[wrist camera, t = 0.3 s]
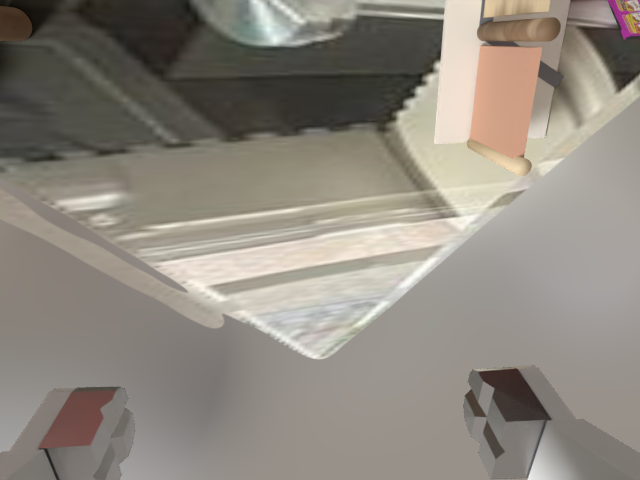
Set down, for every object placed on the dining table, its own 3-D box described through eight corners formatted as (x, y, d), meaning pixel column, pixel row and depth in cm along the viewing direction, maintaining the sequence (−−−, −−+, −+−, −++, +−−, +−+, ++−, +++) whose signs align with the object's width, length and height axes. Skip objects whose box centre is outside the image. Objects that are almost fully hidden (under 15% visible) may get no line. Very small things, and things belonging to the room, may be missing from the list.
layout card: (453, -104, 45) (455, -105, 45) (596, -106, 46) (599, -107, 46) (434, 143, 56) (435, 144, 56) (550, 136, 58) (552, 137, 57)
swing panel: (477, 46, 51) (534, 48, 40) (492, 45, 51) (552, 47, 40) (466, 149, 56) (513, 176, 45) (479, 148, 56) (530, 175, 45)
